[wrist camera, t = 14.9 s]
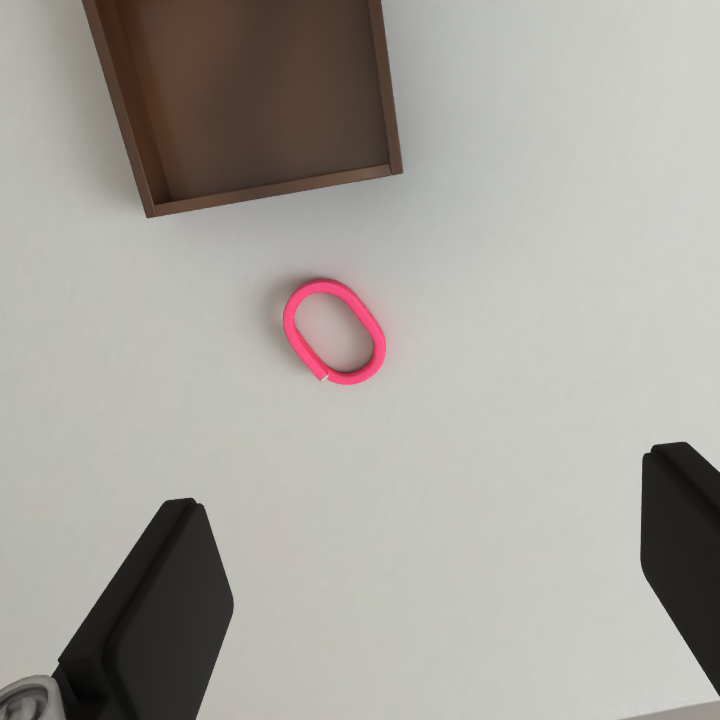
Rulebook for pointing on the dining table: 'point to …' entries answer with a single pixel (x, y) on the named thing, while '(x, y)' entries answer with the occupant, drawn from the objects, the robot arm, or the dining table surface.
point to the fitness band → (306, 352)
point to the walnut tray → (247, 96)
